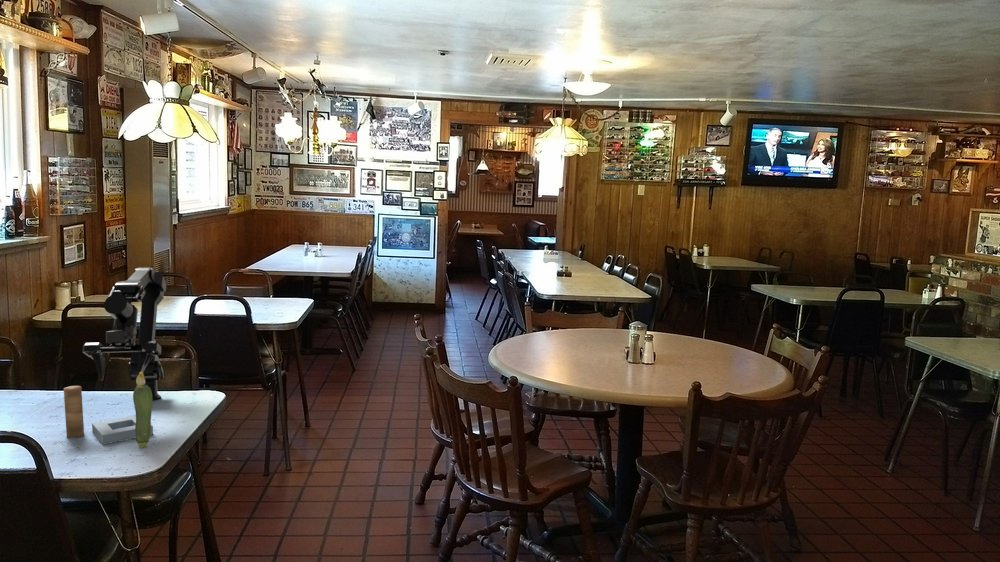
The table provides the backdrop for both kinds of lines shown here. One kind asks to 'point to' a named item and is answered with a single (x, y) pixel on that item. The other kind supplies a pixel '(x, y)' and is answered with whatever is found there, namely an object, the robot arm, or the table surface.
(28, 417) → the table surface
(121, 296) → the robot arm
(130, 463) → the table surface
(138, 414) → the vegetable
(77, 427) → the peg
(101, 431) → the socket
